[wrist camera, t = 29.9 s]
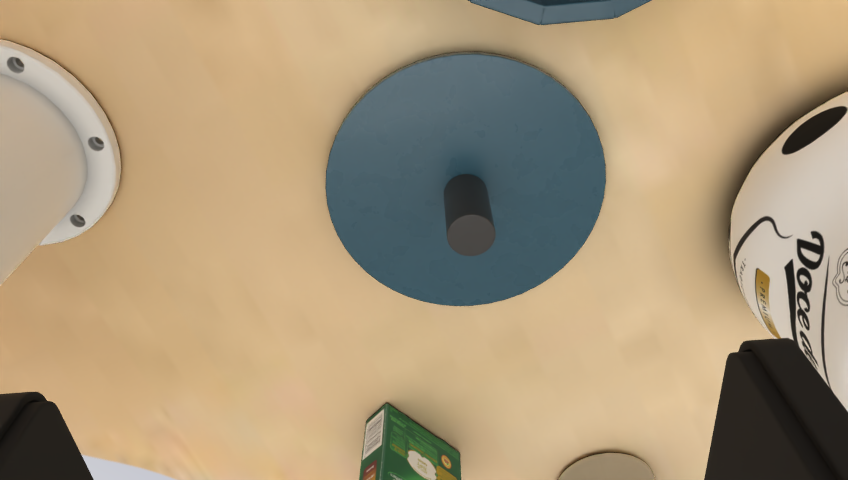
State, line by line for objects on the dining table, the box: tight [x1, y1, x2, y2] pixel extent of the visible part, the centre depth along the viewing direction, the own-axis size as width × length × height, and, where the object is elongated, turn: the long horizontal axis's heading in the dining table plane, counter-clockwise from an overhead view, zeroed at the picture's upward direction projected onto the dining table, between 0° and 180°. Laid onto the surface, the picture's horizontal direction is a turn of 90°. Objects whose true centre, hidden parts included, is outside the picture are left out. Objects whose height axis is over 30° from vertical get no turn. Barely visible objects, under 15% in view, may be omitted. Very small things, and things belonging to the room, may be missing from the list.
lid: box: [326, 52, 606, 306], centre depth 39 cm, size 17×17×6 cm
